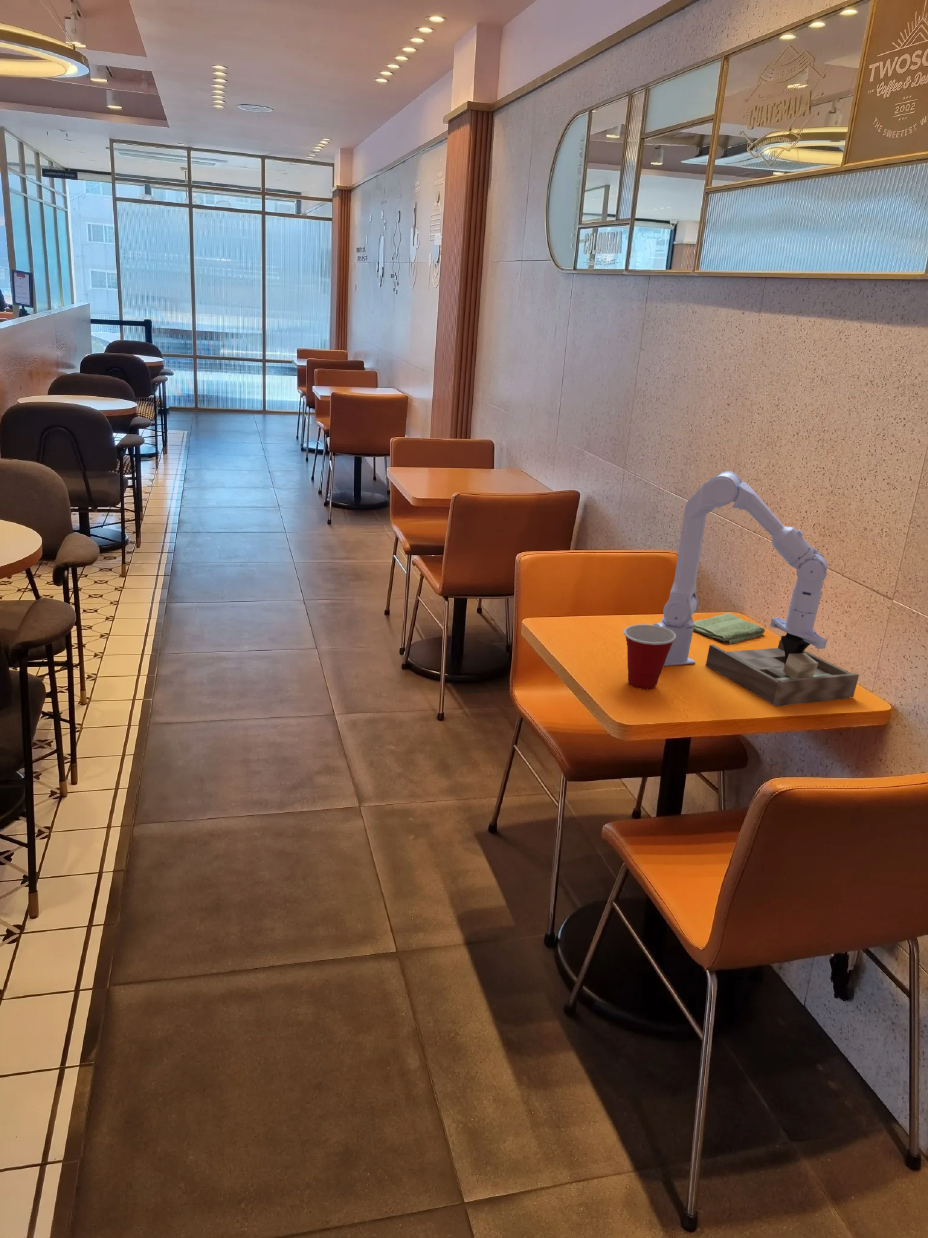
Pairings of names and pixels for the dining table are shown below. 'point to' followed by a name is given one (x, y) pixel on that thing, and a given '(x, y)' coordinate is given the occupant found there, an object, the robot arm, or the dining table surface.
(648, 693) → the dining table surface
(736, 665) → the trap box
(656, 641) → the plastic cup
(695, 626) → the washcloth
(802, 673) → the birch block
